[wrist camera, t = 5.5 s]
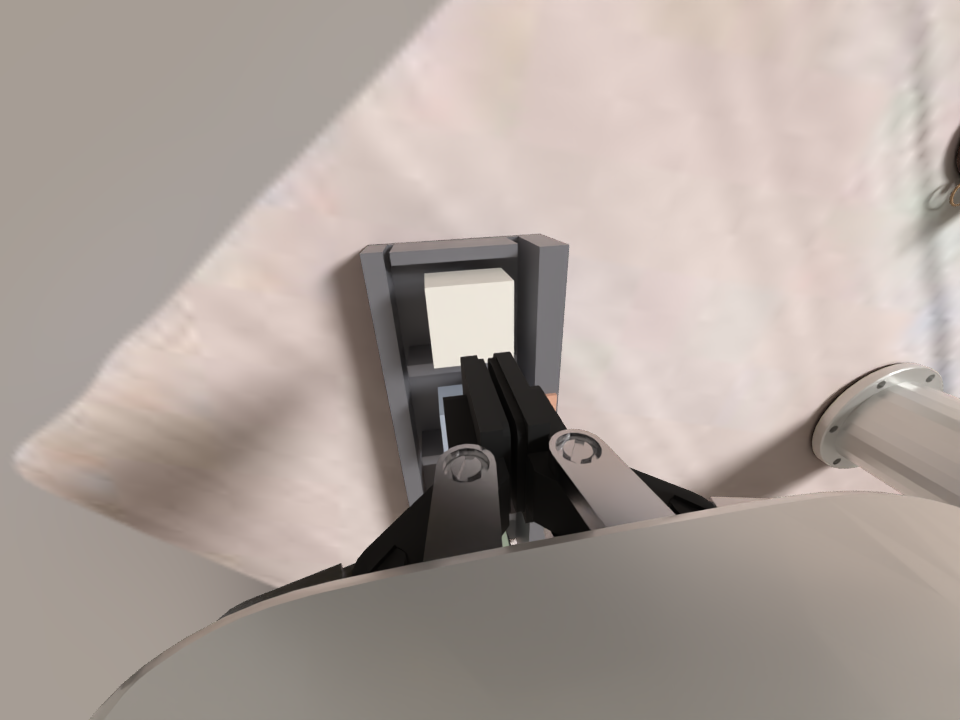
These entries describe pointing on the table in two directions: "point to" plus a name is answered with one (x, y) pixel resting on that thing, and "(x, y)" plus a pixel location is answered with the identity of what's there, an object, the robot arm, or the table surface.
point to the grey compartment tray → (408, 342)
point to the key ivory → (469, 314)
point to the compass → (959, 165)
